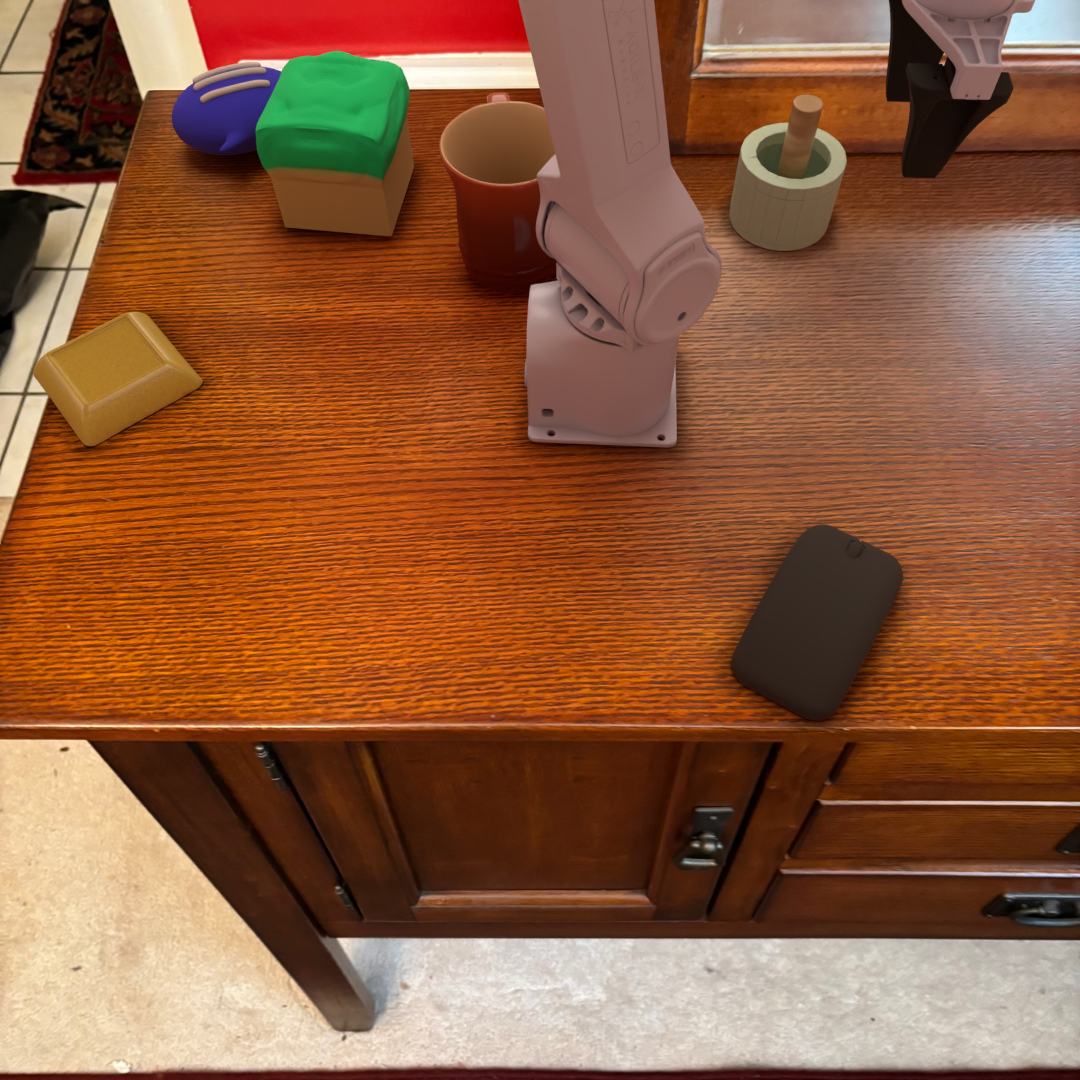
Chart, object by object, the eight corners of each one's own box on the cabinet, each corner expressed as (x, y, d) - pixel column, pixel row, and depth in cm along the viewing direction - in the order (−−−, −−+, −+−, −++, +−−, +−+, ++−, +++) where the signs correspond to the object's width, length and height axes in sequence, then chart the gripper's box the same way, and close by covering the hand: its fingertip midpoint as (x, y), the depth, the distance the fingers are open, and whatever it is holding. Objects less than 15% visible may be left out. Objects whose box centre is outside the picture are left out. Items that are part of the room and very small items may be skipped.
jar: (731, 249, 72) (743, 187, 67) (727, 184, 76) (738, 120, 71) (832, 252, 71) (852, 190, 67) (823, 187, 75) (841, 123, 71)
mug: (579, 302, 69) (583, 179, 60) (456, 313, 69) (442, 191, 60) (559, 191, 75) (559, 67, 67) (446, 201, 75) (432, 77, 66)
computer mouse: (905, 576, 57) (928, 539, 53) (827, 730, 52) (846, 700, 48) (806, 528, 59) (821, 489, 55) (721, 672, 54) (732, 639, 50)
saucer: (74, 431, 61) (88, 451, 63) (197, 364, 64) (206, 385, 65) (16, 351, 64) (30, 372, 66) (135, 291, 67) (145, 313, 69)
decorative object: (155, 99, 70) (163, 57, 77) (177, 179, 74) (183, 133, 81) (303, 86, 72) (297, 47, 79) (316, 165, 75) (310, 121, 83)
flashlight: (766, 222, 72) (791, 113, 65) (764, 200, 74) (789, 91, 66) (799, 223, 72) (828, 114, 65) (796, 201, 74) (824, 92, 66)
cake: (428, 153, 78) (412, 31, 69) (399, 244, 72) (379, 123, 64) (309, 144, 79) (280, 22, 70) (272, 233, 73) (235, 112, 64)
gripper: (1104, -19, 47) (994, 213, 58) (1040, -160, 54) (954, 69, 66) (954, -22, 47) (875, 209, 58) (911, -162, 54) (849, 67, 66)
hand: (909, 135), depth 62 cm, fingers open, 7 cm apart
